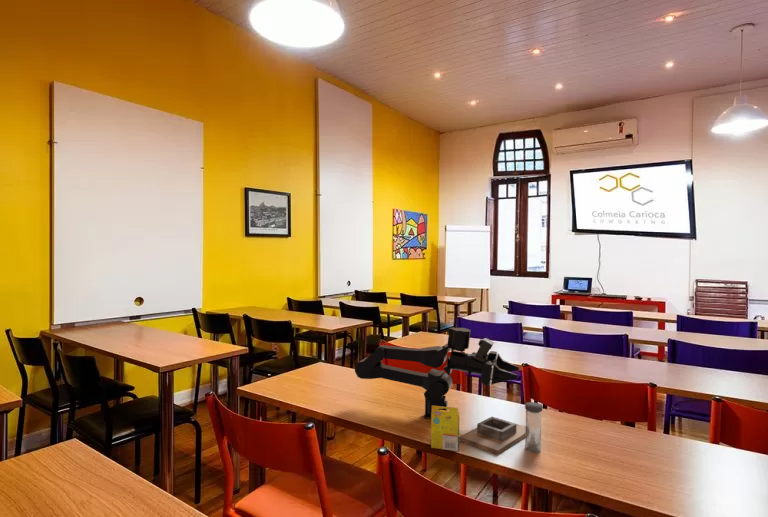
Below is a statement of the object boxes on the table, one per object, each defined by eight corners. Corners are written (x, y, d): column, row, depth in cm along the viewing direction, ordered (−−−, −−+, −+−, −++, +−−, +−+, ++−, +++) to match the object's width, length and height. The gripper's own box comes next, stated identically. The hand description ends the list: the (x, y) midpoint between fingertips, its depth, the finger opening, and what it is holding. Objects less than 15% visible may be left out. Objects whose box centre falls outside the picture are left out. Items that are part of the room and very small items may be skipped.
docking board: (459, 440, 125) (459, 427, 124) (495, 421, 139) (496, 409, 139) (497, 454, 116) (497, 441, 116) (532, 432, 130) (532, 420, 130)
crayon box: (459, 447, 120) (460, 404, 120) (457, 452, 118) (458, 408, 117) (432, 443, 123) (433, 401, 122) (430, 448, 120) (431, 405, 120)
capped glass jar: (524, 451, 118) (525, 407, 118) (524, 444, 123) (524, 401, 122) (542, 453, 117) (543, 408, 117) (540, 446, 121) (541, 403, 121)
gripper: (465, 343, 130) (520, 353, 125) (473, 332, 148) (522, 340, 143) (460, 380, 131) (515, 392, 126) (469, 364, 148) (518, 374, 143)
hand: (518, 372), depth 134 cm, fingers open, 9 cm apart
